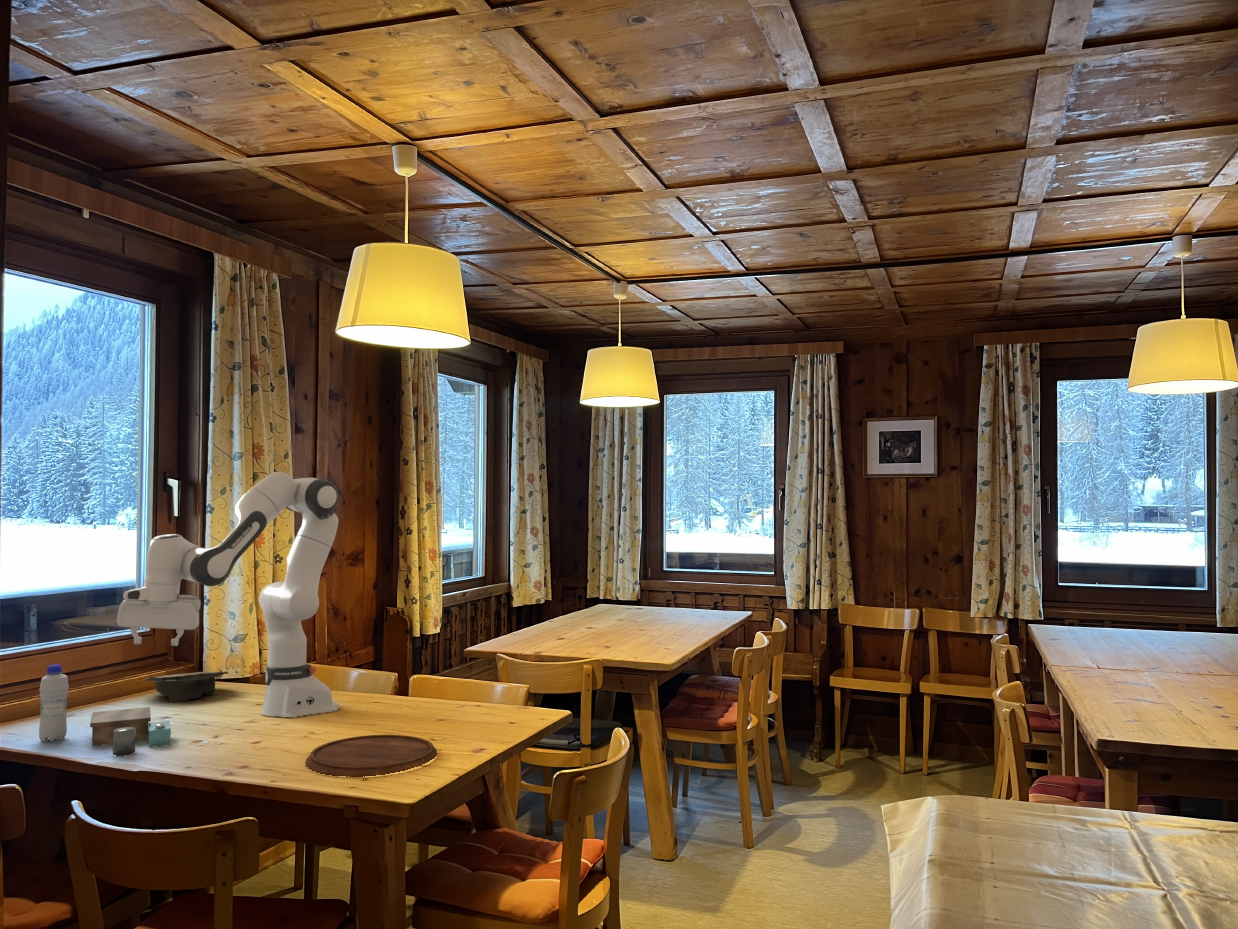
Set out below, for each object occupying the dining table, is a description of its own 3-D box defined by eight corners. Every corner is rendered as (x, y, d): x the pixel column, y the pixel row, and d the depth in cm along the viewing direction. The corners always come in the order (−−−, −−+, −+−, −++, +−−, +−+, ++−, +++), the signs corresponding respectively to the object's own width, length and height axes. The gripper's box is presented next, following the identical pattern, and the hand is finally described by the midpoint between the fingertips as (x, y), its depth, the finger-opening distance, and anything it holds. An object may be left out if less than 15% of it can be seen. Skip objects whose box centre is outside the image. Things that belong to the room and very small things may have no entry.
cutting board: (408, 783, 208) (408, 772, 208) (279, 775, 213) (279, 765, 214) (455, 746, 240) (456, 736, 240) (342, 740, 245) (342, 731, 245)
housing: (168, 737, 246) (169, 718, 246) (170, 745, 238) (170, 725, 238) (148, 740, 244) (148, 720, 244) (148, 748, 236) (149, 727, 236)
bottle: (36, 744, 238) (38, 667, 239) (39, 738, 244) (41, 663, 244) (66, 741, 241) (68, 665, 242) (68, 735, 247) (70, 661, 248)
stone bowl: (186, 706, 281) (184, 676, 281) (126, 706, 290) (125, 676, 290) (245, 690, 304) (243, 662, 305) (188, 690, 313) (187, 663, 313)
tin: (135, 749, 233) (135, 726, 234) (135, 754, 229) (135, 730, 229) (113, 752, 231) (113, 728, 231) (112, 757, 227) (113, 733, 227)
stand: (149, 728, 255) (150, 707, 255) (150, 740, 242) (150, 717, 243) (91, 734, 248) (92, 712, 248) (89, 746, 236) (90, 723, 236)
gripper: (204, 594, 252) (199, 645, 251) (126, 590, 249) (120, 641, 248) (198, 596, 246) (192, 648, 245) (117, 592, 243) (111, 644, 242)
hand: (156, 644), depth 246 cm, fingers open, 8 cm apart
